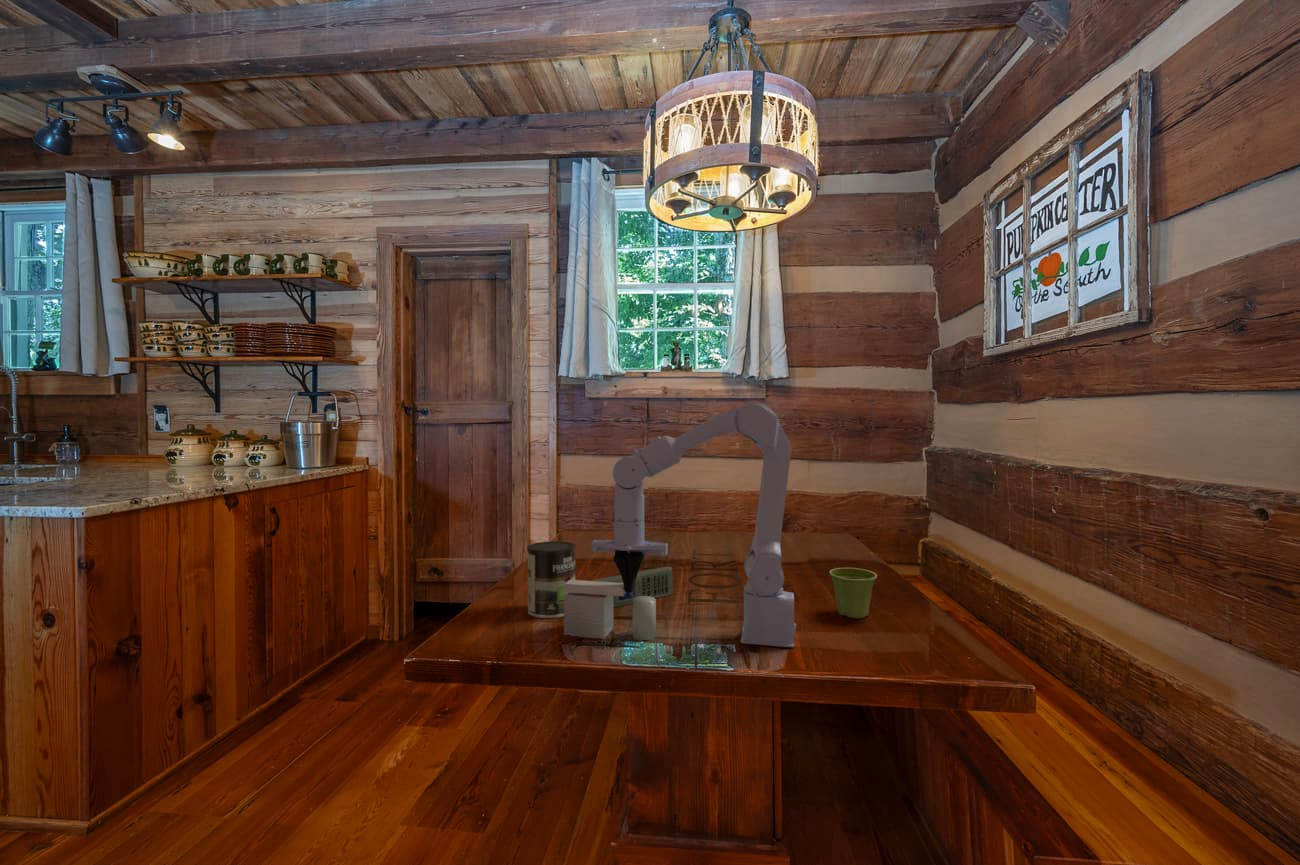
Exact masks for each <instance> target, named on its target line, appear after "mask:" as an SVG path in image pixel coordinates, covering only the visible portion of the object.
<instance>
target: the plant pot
mask: <svg viewBox="0 0 1300 865" xmlns="http://www.w3.org/2000/svg"><path fill="white" fill-rule="evenodd" d="M829 575H830V576H831V580H832V582H833V588H834V593H835V594H834V595H835V601H836V602H835V603H836V610H837V613H838V614H839V615H840V616H846V617H847V618H850V619H863V618H866V617H868V616H869V611H870V604H871V598H872V592H873V586H874V585H875V581H876V579H877V578H878V575H877V573H875V571H871V570H868V569H862V568H856V567H837V568H833V569H830V570H829Z"/></svg>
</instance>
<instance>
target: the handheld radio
mask: <svg viewBox="0 0 1300 865" xmlns="http://www.w3.org/2000/svg"><path fill="white" fill-rule="evenodd" d="M593 581H598V582H614V583H623V580H622V577H621V574H620V575H619V574H617V575H613V576H609V577H602V578H598V579H597V578H596V579H594V580H593ZM673 588H674V587H673V567H672V566H663V567H657V568H652V569H646V570H641V571H638V573H637V577H636V581H635V587H634V590H633V592H626V593H625V594H624V595H623V596H613V609H615V608H618V607H619V608H620V607H624V606H628V604H629V605H633V604H632V603H633V598H635V597H639V596H650V597H654V598H656V599H660V597H661V598H664V596H665V597H669V596H668V595H670V596H673V594H674V593H673V590H674V589H673Z"/></svg>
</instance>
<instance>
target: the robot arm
mask: <svg viewBox="0 0 1300 865" xmlns="http://www.w3.org/2000/svg"><path fill="white" fill-rule="evenodd" d="M738 433H740V434H741V435H743V436H745V437H746V438H747V439H748V440H751V441H752V442H753V443H754V444H755V446H756V447H757V448H758V449H759V450H760V451H761V453H762V454H763V461H762V462H763V463H762V469H761V478H760V479H761V480H760V486H759V495H758V503H757V512H756V519H755V530H754V536H753V539H752V542H751V548H750V551H749V554H748V555H747V556H746V558H745V560H744V565H743V569H744V572H745V574H746V576H747V578H748V580H747V582H746V584H745V585H744V586H743V627H742V632H741V634H740V635H741V637H740V643H741V644H745V645H758V646H769V647H779V648H781V647H782V648H792V649H793V648H794V647H795V634H796V632H797V631H796V630H797V628H796V626H797V624H796V622H795V594H794V592H790V591H789V592H788V591H785V590H784V588H783V586H784V582H785V574H784V571H783V568H782V565H781V564H782V548H781V537H782V530H783V521H784V514H785V505H786V504H785V503H786V497H787V488H788V479H789V472H790V462H791V457H792V456H791V455H792V446H791V445H792V444H791V443H790V441H789V439H788V437H787V435H786V433H785V431H784V429H783V426H782V424H781V423H780V419H779V416H778V415H777V414H776V412H774V411H772V410H771V409H770V407H769V406H767V404H764V403H762V402H759V401H752V402H748V403H746V404H744V405H743V404H742V405H741V406H740V407H736V408H734V409H730V410H727V411H723V412H722V413H718V414H716V415H715V416H713V417H711V418H709V419H707V420H705V421H703V422H701V423H700V424H699V425H697V426H695V427H693V428H692V429H689V430H688V431H686V432H685V433H683V434H681V435H679V436H677V437H676V438H675V437H672V436H668V435H664V436H662V437H660V435H658V436H655V437H654V438H652V440H653V441H652V442H651V443H649V444H647V445H645V446H643V447H641V448H640V449H637V448H635V449H633V450H631V451H630V453H631V455H628V456H626V455H625V456H623V457H622V458H620V459H619V460H617V462H616V463H615V464H614V466H613V469H612V476H613V479H614V482H615V486H614V492H615V493H614V497H613V500H614V503H613V506H614V515H613V516H614V522H613V523H614V532H613V533H614V535H613V536H614V539H594V540H593V541H591V552H592V553H598V552H607V553H614V556H612V557H613V558H612V559H613V562H614V563H615V565H616V567H617V569H618V572H619V574H620V575H621V577H622V580H623V584H624V589H625V592H633V590H634V587H635V581H636V577H637V573H638V572H639V569H640V567H641V566H642V563H643V560H644V558H645V556H646V555H659V556H664V557H665V556H667V555H668V554H669V553H668V552H669V544H668V543H667V542H666V543H665V542H658V541H657V542H654V541H648V540H645V495H644V479H645V478H646V477H648V478H653V477H654V476H656V475H658V474H660V473H662V472H664V471H665V470H667V469H669V468H671V467H674V466H675V465H677V464H679V463H680V462H681V459H682V456H683V453H685V452H687V451H689V450H691V449H693V448H695V447H697V446H699V445H701V444H703V443H705V442H706V441H707V442H708V441H709V440H711V439H713V438H715V437H717V436H719V435H733V434H734V435H736V434H738Z"/></svg>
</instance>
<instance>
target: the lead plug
mask: <svg viewBox="0 0 1300 865" xmlns="http://www.w3.org/2000/svg"><path fill="white" fill-rule="evenodd" d="M655 637H656V638H657V598H656V599H655V598H654V597H650V596H639V597H635V598H633V604H632V638H633V639H634V640H636V641H640V640H641V641H640V642H643V641H642V640H649V641H651V640H652V639H653V640H654V638H655ZM656 638H655V639H656Z"/></svg>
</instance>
